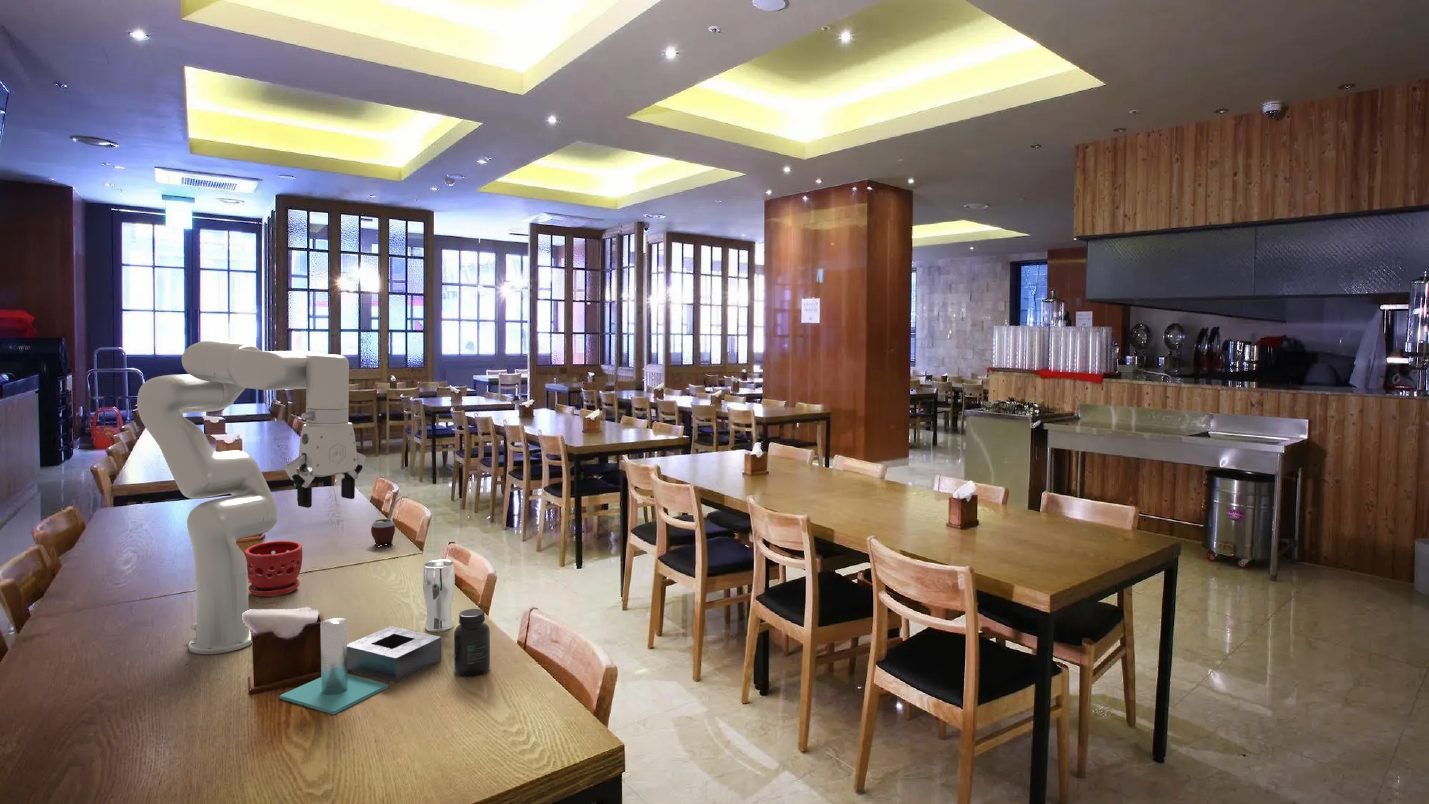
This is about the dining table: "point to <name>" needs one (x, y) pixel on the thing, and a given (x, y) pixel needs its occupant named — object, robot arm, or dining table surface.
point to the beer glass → (438, 594)
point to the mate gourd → (384, 529)
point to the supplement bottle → (471, 644)
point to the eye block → (393, 654)
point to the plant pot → (274, 567)
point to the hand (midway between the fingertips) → (326, 502)
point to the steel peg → (334, 656)
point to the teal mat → (333, 703)
